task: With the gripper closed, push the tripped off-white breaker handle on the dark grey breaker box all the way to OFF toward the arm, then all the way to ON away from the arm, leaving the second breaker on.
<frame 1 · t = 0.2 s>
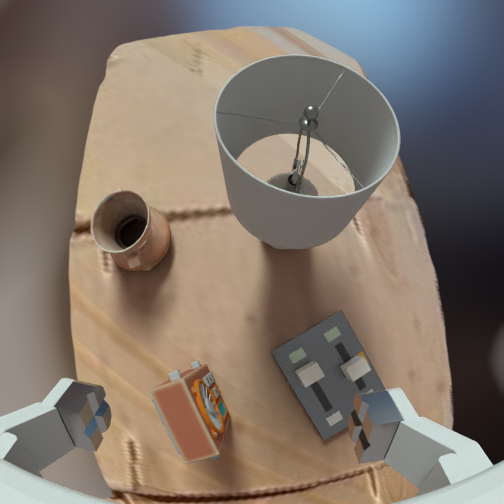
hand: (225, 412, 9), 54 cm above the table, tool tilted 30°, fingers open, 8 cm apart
breaker box: (330, 375, 59), on the table
tripped breaker: (355, 368, 54), point 6 cm above the table, slide at 0.0 cm
ceramic jug: (143, 240, 67), on the table
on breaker: (309, 373, 54), point 6 cm above the table, slide at 4.0 cm
control panel: (206, 395, 58), on the table
lamp: (282, 228, 67), on the table
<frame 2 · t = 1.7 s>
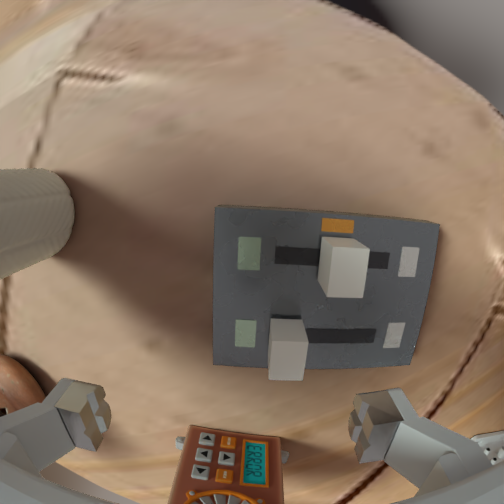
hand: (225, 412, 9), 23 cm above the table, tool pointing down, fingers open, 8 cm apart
breaker box: (323, 288, 32), on the table
tripped breaker: (341, 265, 25), point 6 cm above the table, slide at 0.0 cm
ceramic jug: (21, 382, 37), on the table
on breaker: (286, 348, 27), point 6 cm above the table, slide at 4.0 cm
control panel: (232, 443, 38), on the table
lamp: (48, 211, 31), on the table
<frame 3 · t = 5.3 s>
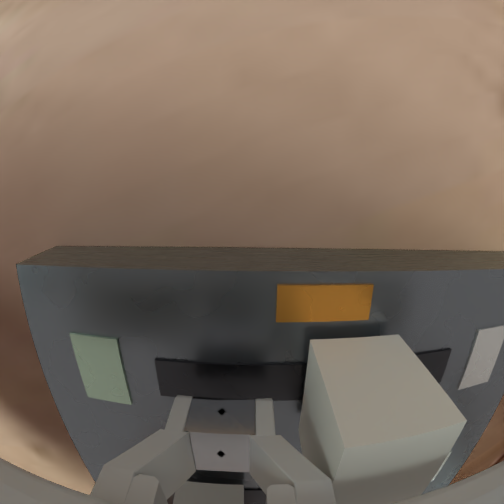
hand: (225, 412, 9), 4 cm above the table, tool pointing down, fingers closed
breaker box: (295, 407, 14), on the table
tripped breaker: (364, 430, 7), point 6 cm above the table, slide at -1.0 cm, touching gripper
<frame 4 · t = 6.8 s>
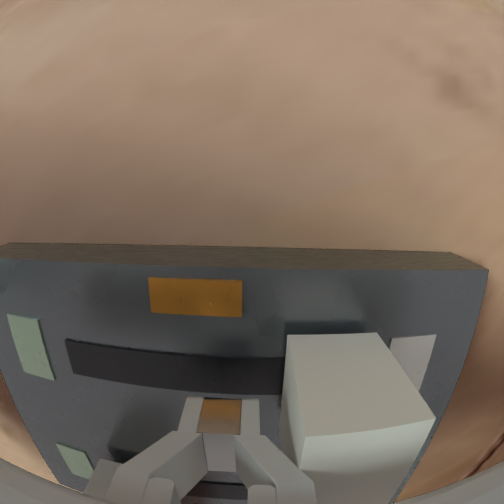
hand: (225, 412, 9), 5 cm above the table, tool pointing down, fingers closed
breaker box: (213, 402, 14), on the table
tripped breaker: (338, 425, 8), point 6 cm above the table, slide at -4.4 cm, touching gripper
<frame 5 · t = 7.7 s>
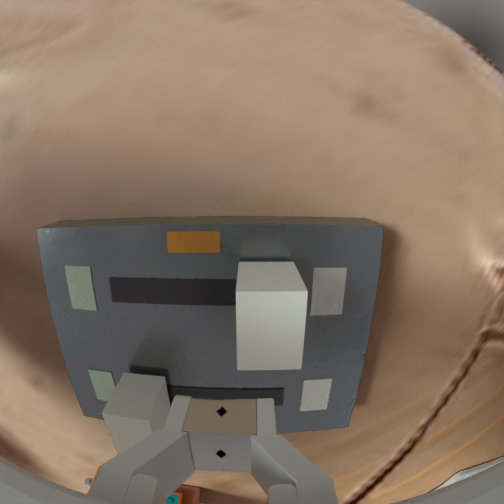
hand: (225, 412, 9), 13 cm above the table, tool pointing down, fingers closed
breaker box: (205, 328, 22), on the table
tripped breaker: (267, 312, 16), point 6 cm above the table, slide at -4.1 cm
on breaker: (140, 416, 17), point 6 cm above the table, slide at 4.0 cm
control panel: (150, 487, 28), on the table
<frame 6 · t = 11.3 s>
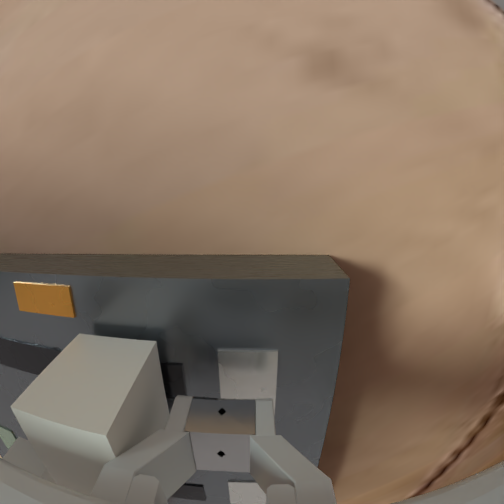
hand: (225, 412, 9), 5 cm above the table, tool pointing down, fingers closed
breaker box: (106, 396, 14), on the table
tripped breaker: (104, 422, 8), point 6 cm above the table, slide at -3.3 cm, touching gripper
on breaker: (35, 488, 10), point 6 cm above the table, slide at 4.0 cm
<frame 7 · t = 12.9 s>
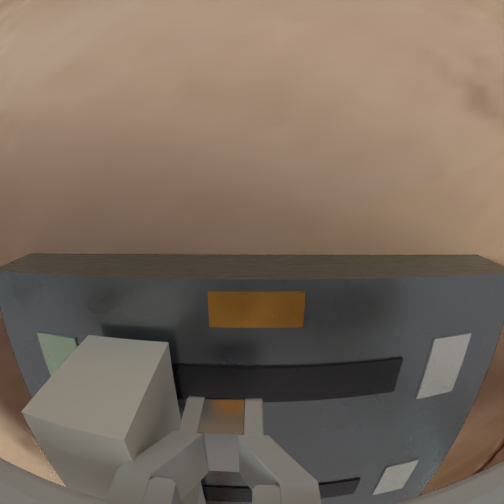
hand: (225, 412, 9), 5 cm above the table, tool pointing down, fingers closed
breaker box: (254, 408, 14), on the table
tripped breaker: (116, 425, 8), point 6 cm above the table, slide at 4.3 cm, touching gripper
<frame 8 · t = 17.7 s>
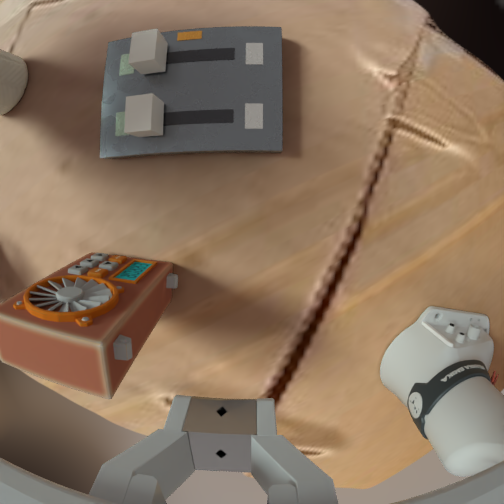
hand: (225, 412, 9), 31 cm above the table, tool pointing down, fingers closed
breaker box: (191, 92, 35), on the table
tripped breaker: (149, 52, 28), point 6 cm above the table, slide at 4.1 cm
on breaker: (145, 116, 30), point 6 cm above the table, slide at 4.0 cm
control panel: (130, 276, 41), on the table
lamp: (11, 87, 33), on the table
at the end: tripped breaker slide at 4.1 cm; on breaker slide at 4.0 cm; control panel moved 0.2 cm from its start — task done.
